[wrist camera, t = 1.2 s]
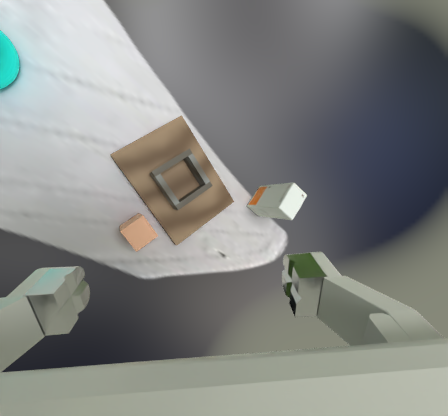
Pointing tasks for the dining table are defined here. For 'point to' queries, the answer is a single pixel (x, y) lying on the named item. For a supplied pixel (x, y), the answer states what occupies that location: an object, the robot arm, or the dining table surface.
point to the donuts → (7, 61)
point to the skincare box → (277, 201)
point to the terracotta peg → (138, 231)
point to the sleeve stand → (174, 179)
